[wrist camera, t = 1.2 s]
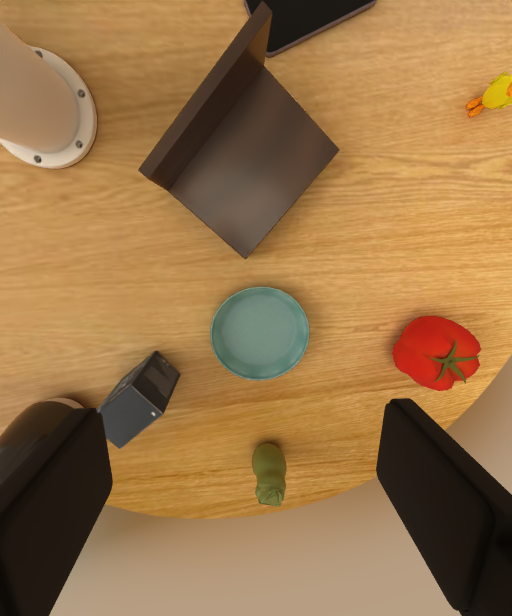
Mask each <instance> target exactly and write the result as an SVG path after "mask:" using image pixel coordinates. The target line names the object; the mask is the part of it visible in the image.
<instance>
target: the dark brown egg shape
mask: <svg viewBox="0 0 512 616" xmlns="http://www.w3.org/2000/svg"><path fill="white" fill-rule="evenodd" d="M75 408H84V407H83V406H82V405H80V404H79V403H77V402H76V401H73V400H71V399H67V398H52V399H47V400H44V401H42V402H38V403H35V404H32V405H30V406H29V407H27V408H26V409H25V410H23V411H22V412H21V413H20V414H19V415H18V416H17V417H16V418H15V419H14V420H13V421H12V422H11V424H10V425H9V426H8V427H7V428H6V429H5V431H4V432H3V433H2V434H1V436H0V485H1V484H2V483H3V482H4V481H5V480H6V479H7V478H8V477H9V476H10V475H11V474H12V473H13V472H14V470H15V469H16V468H17V467H18V466H19V465H20V464H21V463H22V462H23V461H24V460H25V459H26V458H27V457H28V456H29V455H30V454H31V453H32V452H33V451H34V449H35V448H36V447H37V446H38V445H39V444H40V443H41V442H42V441H43V440H44V439H45V438H46V437H47V436H48V435H49V434H50V433H51V432H52V431H53V430H54V429H55V427H56V426H57V425H58V424H59V423H60V422H61V421H62V420H63V419H64V418H65V417H66V416H67V415H68V414H69V413H70V412H71V411H72V410H73V409H75Z"/></svg>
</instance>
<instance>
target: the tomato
mask: <svg viewBox="0 0 512 616" xmlns="http://www.w3.org/2000/svg"><path fill="white" fill-rule="evenodd" d="M480 350H481V348H480V344H479V342H478V341H477V339H476V338H475V337H474V335H472V334H471V333H470V332H469V331H468V330H467V329H465V328H464V327H462V326H461V325H459V324H457V323H455V322H453V321H451V320H448V319H445V318H441V317H437V316H424V317H420V318H418V319H415V320H414V321H412V322H411V323H410V324H409V325H408V326H407V327H406V328H405V330H404V331H403V333H402V335H401V337H400V339H399V341H398V342H397V343H396V344H395V345H394V348H393V352H392V355H393V359H394V363H395V365H396V367H397V368H398V369H399V370H400V371H402V372H404V373H406V374H408V375H409V376H410V377H411V378H412V379H413V380H414V381H415V382H417V383H418V384H420V385H422V386H424V387H427V388H430V389H434V390H437V391H443V390H448V389H450V388H452V386H453V383H454V381H462V380H463V381H464V382H465V384H466V381H465V380H466V379H467V378H469V377H470V376H472V375H473V374H474V373H475V372H476V370H477V369H478V367H479V366H480V364H479V360H478V356H477V354H478V353H479V352H480ZM479 356H480V355H479Z"/></svg>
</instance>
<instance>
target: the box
mask: <svg viewBox="0 0 512 616" xmlns="http://www.w3.org/2000/svg"><path fill="white" fill-rule="evenodd" d="M179 377H180V373H179V372H178V371H177V370H176V369H175V368H174V367H173V366H172V365H171V364H170V363H169V362H168V361H167V360H166V359H165V358H164V357H163V356H162V355H161V354H160V353H159V352H158V351H155V352H154V353H152V354H151V355H150V356H149V357H148V358H146V359H145V360H144V361H143V362H142V363H141V364H139V365H138V366H137V367H136V368H135V369H133V370H132V371H131V372H130V373H129V374H127V375H126V376H125V377H124V378H122V379H121V381H120V382H119V383H118V384H117V386H116V387H115V388H114V389H113V390H112V392H111V393H110V394H109V395H108V397H107V398H106V399H105V400H104V402H103V403H102V404H101V405H100V407H99V408H98V409H97V412H100V413H101V414H102V416H103V422H104V429H105V435H106V438H107V439H108V440H110V441H111V442H112V443H113V444H114V445H116V446H117V447H118V448H119V449H121V448H123V447H124V446H125V445H126V444H127V443H128V442H129V441H130V440H132V439H133V438H134V437H135V436H136V435H138V434H139V433H140V432H141V431H143V430H144V429H145V428H146V427H148V426H149V425H150V424H152V423H153V422H154V421H155V420H157V419H158V418H159V417H161V416H162V415H163V414H164V411H165V409H166V407H167V405H168V402H169V400H170V398H171V395H172V393H173V391H174V388H175V386H176V384H177V381H178V379H179Z"/></svg>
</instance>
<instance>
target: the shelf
mask: <svg viewBox="0 0 512 616" xmlns="http://www.w3.org/2000/svg"><path fill="white" fill-rule="evenodd" d="M271 18H272V11H271V10H270V9H269V8H268V6H267V5H266V4H265V3H264V2H263V1H262V2H261V3H260V5H259V6H258V7H257V9H256V10H255V11H254V13H253V14H252V15H251V17H250V18H249V20H248V21H247V22H246V24H245V25H244V26H243V28H242V29H241V30H240V32H239V33H238V35H237V36H236V37H235V39H234V40H233V41H232V43H231V44H230V45H229V47H228V48H227V50H226V51H225V52H224V54H223V55H222V56H221V58H220V59H219V60H218V62H217V63H216V65H215V66H214V67H213V69H212V70H211V71H210V73H209V74H208V75H207V77H206V78H205V79H204V81H203V82H202V84H201V85H200V86H199V88H198V89H197V90H196V92H195V93H194V94H193V96H192V97H191V99H190V100H189V101H188V103H187V104H186V105H185V107H184V108H183V109H182V111H181V112H180V114H179V115H178V116H177V118H176V119H175V120H174V122H173V123H172V124H171V126H170V127H169V129H168V130H167V131H166V133H165V134H164V135H163V137H162V138H161V139H160V141H159V142H158V144H157V145H156V146H155V148H154V149H153V150H152V152H151V153H150V154H149V156H148V157H147V158H146V160H145V161H144V163H143V164H142V165H141V167H140V168H139V169H138V171H140V172H141V173H142V174H143V175H144V176H145V177H146V178H148V179H149V180H151V181H152V182H154V183H156V184H157V185H159V186H161V187H162V188H164V189H166V190H167V191H169V192H170V193H171V194H172V195H173V196H174V197H175V198H177V199H178V200H179V201H180V202H181V203H182V204H183V205H184V206H186V207H187V208H188V209H189V210H190V211H191V212H192V213H194V214H195V215H196V216H197V217H198V218H199V219H200V220H201V221H203V222H204V223H205V224H206V225H207V226H208V227H209V228H211V229H212V230H213V231H214V232H215V233H216V234H217V235H219V236H220V237H221V238H222V239H223V240H224V241H225V242H226V243H228V244H229V245H230V246H231V247H232V248H233V249H234V250H236V251H237V252H238V253H239V254H240V255H241V256H242V257H243V258H245V259H246V258H247V257H248V256H249V255H250V254H251V252H252V251H253V250H254V249H255V248H256V247H257V245H258V244H259V243H260V242H261V241H262V240H263V239H264V237H265V236H266V235H267V234H268V233H269V232H270V230H271V229H272V228H273V227H274V226H275V225H276V223H277V222H278V221H279V220H280V219H281V218H282V216H283V215H284V214H285V213H286V212H287V211H288V209H289V208H290V207H291V206H292V205H293V204H294V203H295V201H296V200H297V199H298V198H299V197H300V196H301V194H302V193H303V192H304V191H305V190H306V189H307V187H308V186H309V185H310V184H311V183H312V182H313V180H314V179H315V178H316V177H317V176H318V175H319V174H320V172H321V171H322V170H323V169H324V168H325V167H326V165H327V164H328V163H329V162H330V161H331V160H332V158H333V157H334V156H335V155H336V154H337V153H338V151H339V149H338V147H337V146H336V145H335V144H334V143H333V142H332V141H331V140H330V139H329V137H328V136H327V135H326V134H325V133H324V132H323V131H322V130H321V129H320V127H319V126H318V125H317V124H316V123H315V122H314V121H313V120H312V119H311V118H310V116H309V115H308V114H307V113H306V112H305V111H304V110H303V109H302V108H301V106H300V105H299V104H298V103H297V102H296V101H295V100H294V99H293V98H292V96H291V95H290V94H289V93H288V92H287V91H286V90H285V89H284V88H283V87H282V85H281V84H280V83H279V82H278V81H277V80H276V79H275V78H274V77H273V75H272V74H271V73H270V72H269V71H268V70H267V69H266V68H265V67H264V62H265V56H266V50H267V43H268V37H269V31H270V24H271Z"/></svg>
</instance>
